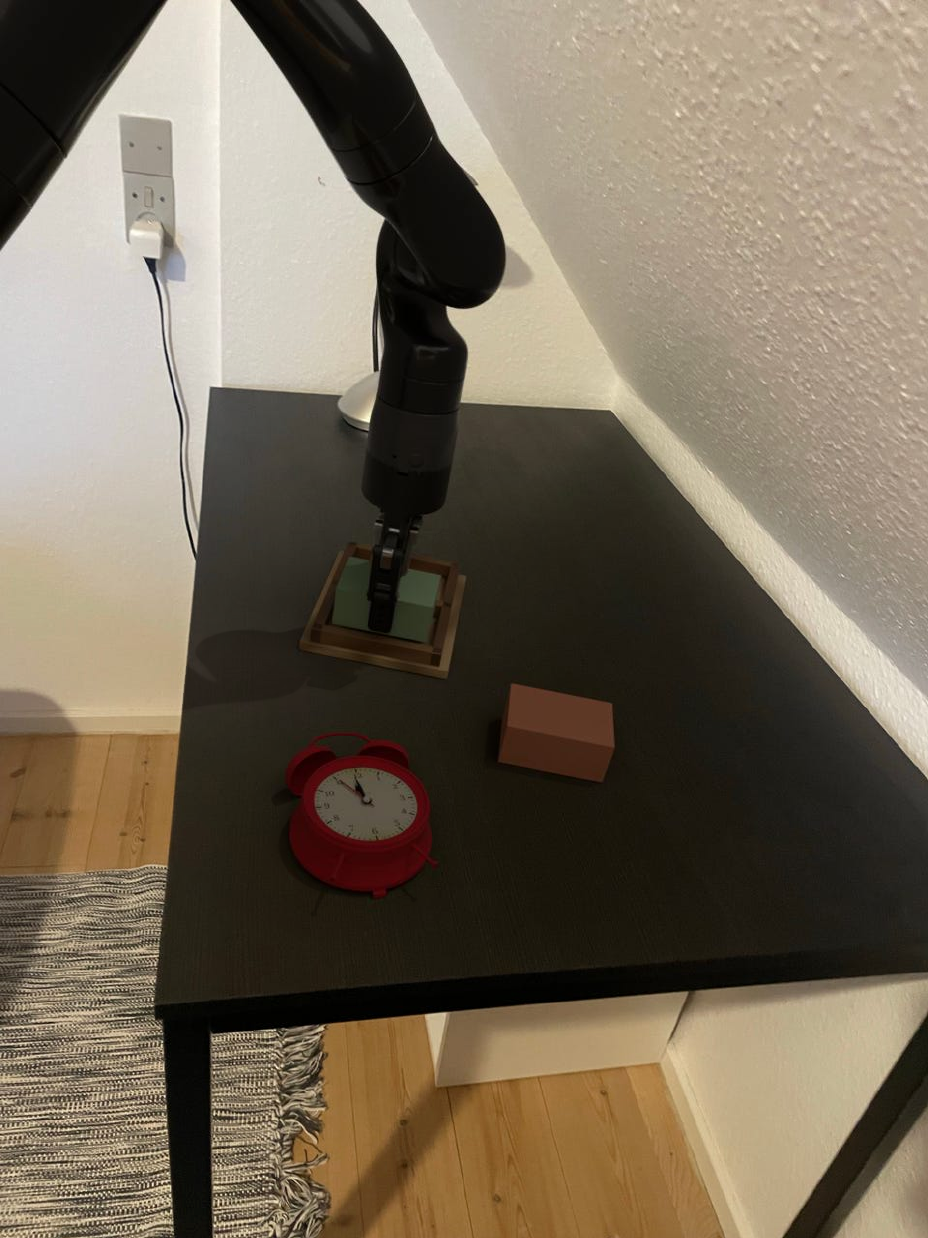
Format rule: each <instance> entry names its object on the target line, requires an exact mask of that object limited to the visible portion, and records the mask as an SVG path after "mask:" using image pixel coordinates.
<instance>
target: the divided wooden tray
mask: <svg viewBox="0 0 928 1238" xmlns="http://www.w3.org/2000/svg"><path fill="white" fill-rule="evenodd" d="M372 548H373V545H370V544H366V543H361V542H355V541H350V540H348V543H347V545H346V547H345V549H344V550H339V552H338V554H337V555H336V558H335V560H334V563H333V565H332V567H331V570H330V572H329V574H328V577H327V578H326V580H325V583H324V585H323V588H322V590H321V592H320V594H319V597H318V598H317V601H316V603H315V606H314V608H313V610H312V613H311V615H310V617H309V619H308V621H307V624H306V625H305V629H304V631H303V633H302V635H301V636H300V640H299V643H298V650H299V651H303V652H308V653H313V654H316V655H317V654H318V655H324V656H326V657H327V656H329V657H333V658H338V659H343V660H347V661H353V662H357V663H362V664H367V665H373V666H378V667H383V668H387V669H393V670H398V671H401V672H402V671H403V672H407V673H411V674H418V675H422V676H427V677H432V678H437V679H442V680H447V679H448V676H449V671H450V665H451V660H452V655H453V650H454V645H455V639H456V635H457V628H458V625H459V624H458V623H459V619H460V612H461V607H462V604H463V603H462V602H463V598H464V593H465V587H466V582H467V575H464V574H460V569H461V563H459V562H456V561H455V562H454V561H449V560H444V559H441V558H440V559H439V558H434V557H429V556H425V555H419V554H415V553H412V556H411V561H410V566H409V569H413V570H417V571H422V572H427V573H432V574H437V575H441V578H440V584H439V589H438V594H437V599H436V605H435V610H434V614H433V618H432V622H431V627H430V631H429V635H428V639H427V642H426V643H425V642H421V641H416V640H411V639H406V638H401V637H396V636H391V635H386V634H381V633H376V632H371V631H366V630H362V629H357V628H352V627H347V626H342V625H337V624H332V619H333V610H334V602H335V594H336V587H337V585H338V582H339V580H340V578H341V575H342V573H343V571H344V568H345V566H346V563H347V561H348V559H349V557H354V558H359V559H364V560H369V561H371V556H372Z"/></svg>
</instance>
